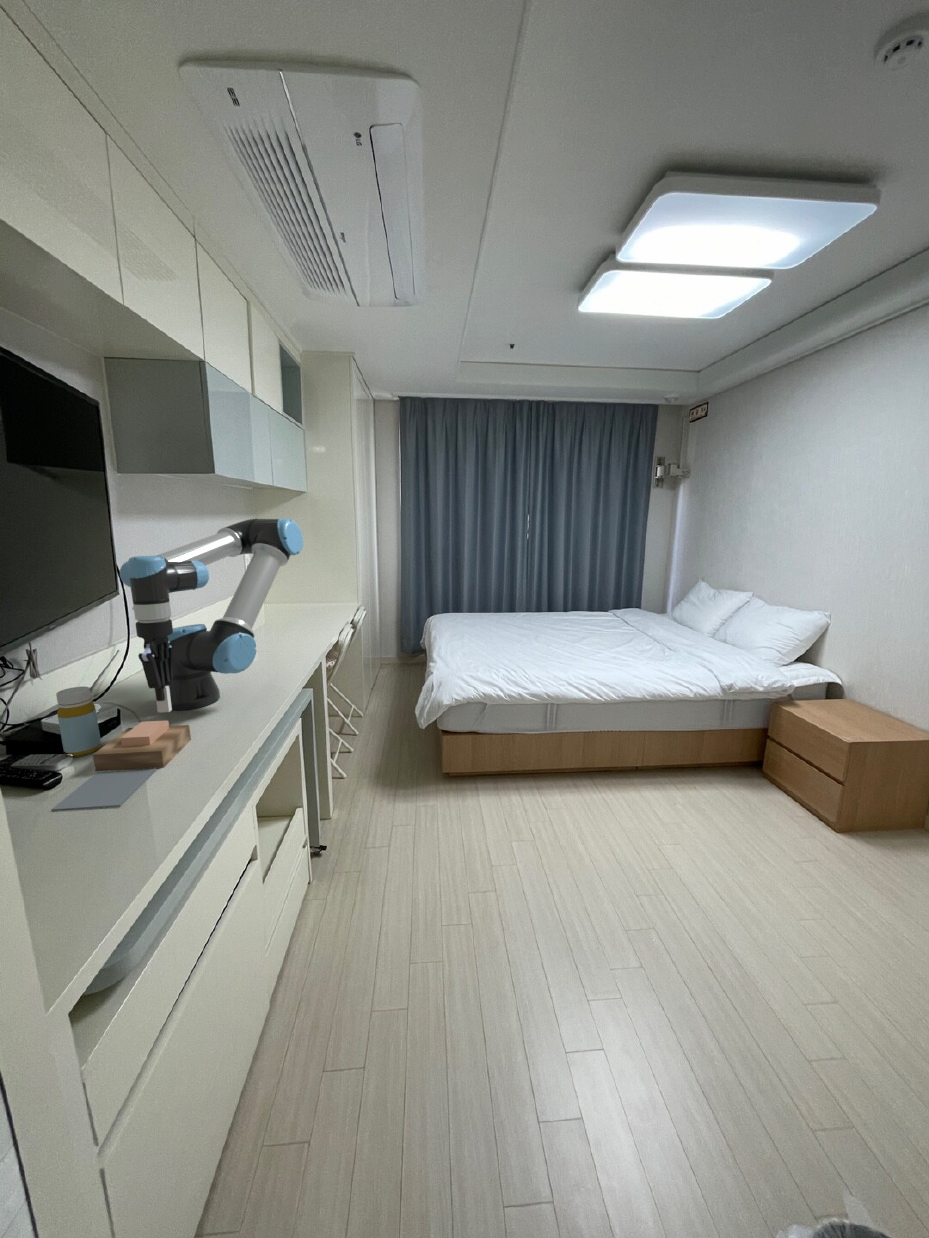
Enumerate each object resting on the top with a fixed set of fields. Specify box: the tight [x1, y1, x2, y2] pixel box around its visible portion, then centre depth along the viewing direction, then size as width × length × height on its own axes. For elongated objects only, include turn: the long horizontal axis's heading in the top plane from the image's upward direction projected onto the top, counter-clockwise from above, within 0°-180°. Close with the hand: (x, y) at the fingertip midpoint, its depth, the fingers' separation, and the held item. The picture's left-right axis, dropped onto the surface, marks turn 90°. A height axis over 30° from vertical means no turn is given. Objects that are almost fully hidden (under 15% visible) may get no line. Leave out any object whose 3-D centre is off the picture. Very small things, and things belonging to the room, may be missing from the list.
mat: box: [51, 768, 158, 812], centre depth 99 cm, size 14×12×1 cm
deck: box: [92, 724, 192, 772], centre depth 113 cm, size 14×14×4 cm
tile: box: [121, 720, 170, 746], centre depth 113 cm, size 9×6×2 cm, turn 7°
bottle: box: [55, 686, 102, 758], centre depth 114 cm, size 7×7×15 cm
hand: (164, 711), depth 123 cm, fingers closed
